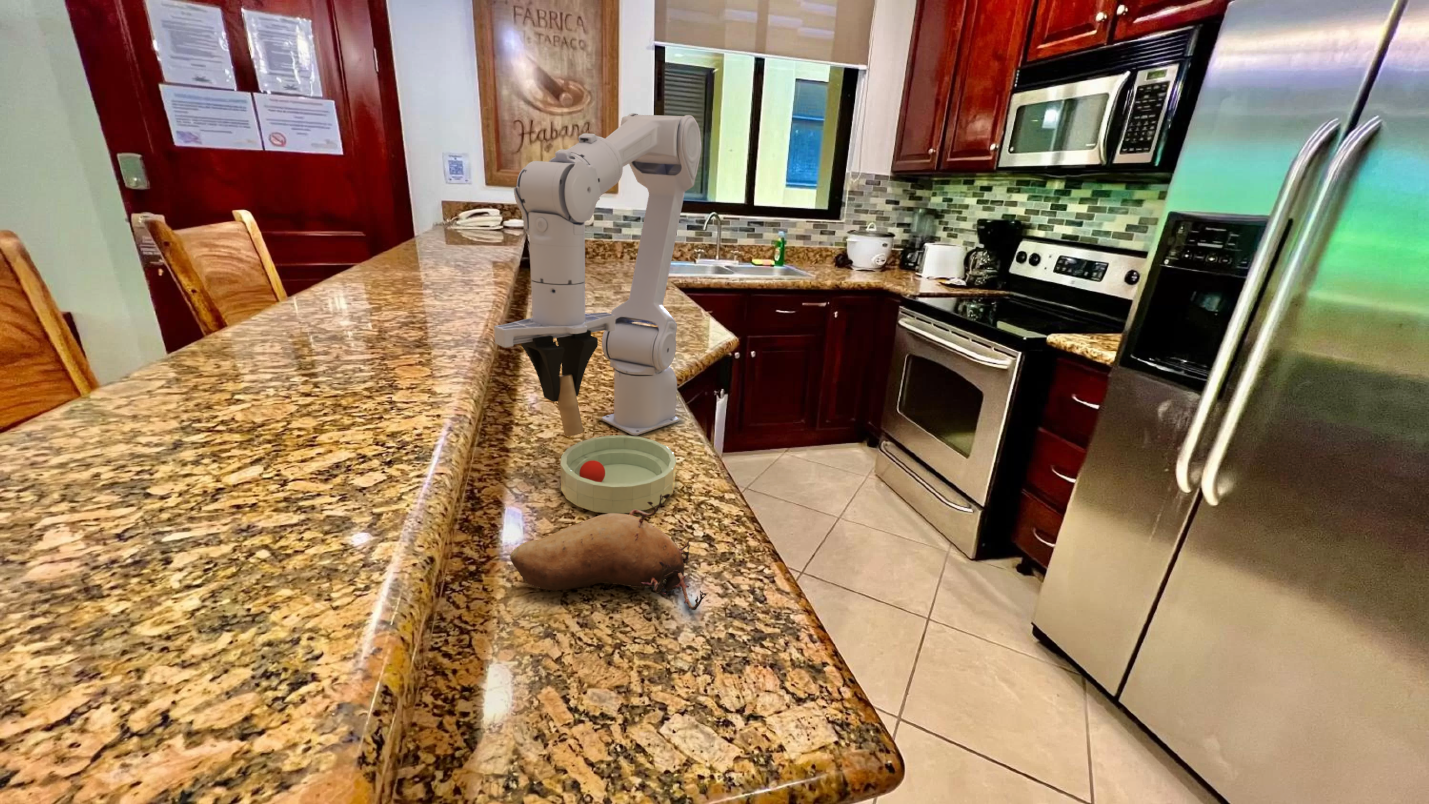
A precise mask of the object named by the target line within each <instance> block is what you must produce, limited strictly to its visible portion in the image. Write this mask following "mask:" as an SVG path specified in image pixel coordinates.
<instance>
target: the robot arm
mask: <svg viewBox="0 0 1429 804" xmlns="http://www.w3.org/2000/svg"><path fill="white" fill-rule="evenodd" d="M577 139H578V142H577V143H575V144H574V145H572V146H570V147H569V148H567V149H563V148H560V149H559V150H557V151H555V153H554V156H553V157H552V158H550V159H549V161H546V160H545V161H542V160H533V161H530V162H528V163H527V164H526V165H525V166H524V167H522V169H521V170H520V171H519V173H518V176H517V180H516V187H513V195H514V199H515V203H516V205H517V207H518V209H519V211H520V213H521V215H522V222H523V223H522V224H523V230H525V234H526V235H528V238H529V239H528V241H529V243H528V244H529V265H530V268H529V269H530V284H531V285H530V286H531V290H530V291H531V310H532V311H531V312H532V316H531V317H528V318H524V319H521V320H517V321H514V322H509V323H503V324H498V325H494V326H493V328H494V329H493V330H494V331H493V332H494V344H496V345H498V346H500V347H502V348H504V349H506V348H513V347H514V345H519V344H520V345H521V347H522V349H523V350H524V352H525V353H526V355H527V357H528V358H529V360H530V362H531V364H532V366H533V368H534V370H535V373H536V375H537V378H538V381H539V384H540V387H541V391H542V394H543V398H544V399H546V400H548V401H550V402H552V403H555V402H558V398H559V394H560V376H561V375H567V374H572V377H573V382H574V387H575V392H576V397H579V393H580V389H581V386H582V382H583V378H584V375H585V372H586V370H587V367H588V364H589V363H590V360H591V358H592V356H593V355H594V353H595V351H596V350H597V348H598V346H599V339H598V337H596V336H593V335H592V333H597V332H603V333H602V338H601V349H602V353H603V356H604V357H605V359H606V360H607V361H608V362H609V367H610V368H613V369H614V374H613V375H614V376H613V377H614V379H613V380H614V381H613V384H614V385H613V386H614V387H613V413H611V414H608V415H604V416H601V420H602V421H603V422H605V423H606V424H609V425H611V426H613V427H614V428H616V429H619V430H621V431H623V432H624V433H628V434H629V435H630V436H636V437H637V436H639V435H642V434H645V433H649V432H651V431H654V430H657V429H659V428H663V427H666V426H669V425H672V424H675V423H677V422H679V421H680V418H679V417H677V416H676V414H677V413H676V411H677V394H678V379H677V376H676V373H675V371H674V369H673V368H672V367H671V365H672V364H673V361H674V359H675V356H676V352H677V330H678V323H677V322H676V320H675V318H674V317H673V316H672V314H670V312H669V311H668V310H667V309H666V308H665V307H664V300H665V295H666V290H667V286H668V280H669V276H670V271H671V265H672V259H673V255H674V249H675V244H676V239H677V235H678V228H679V223H680V218H681V212H682V208H683V203H684V198H685V193H686V192H687V191H688V190H690V189H692V188H693V187H694V186H695V182H696V177H697V174H698V169H699V164H700V159H701V155H702V139H701V130H700V125H699V124H698V122H697V120H696V119H695V117H694V116H693V115H691V114H685V115H684V116H683V115H659V114H658V115H657V114H653V115H652V114H639V113H634V112H632V113H629V114H628V115H626V116H623V117H621V120H620V126H618V127H617V128H616V129H615V130H614V131H613V132H611V133H610V134H608V135H607V136H606V137H605V138H604V137H602V136H598V135H596V134H595V133H587V132H586V133H584V132H583V133H581V134H580V135H578V138H577ZM627 165H629V166H630V169H631V171H632V173H633V175H634V177H635V180H636V182H637V183H639V184H640V185H641V186H643V187H645V188H646V189H647V192H648V198H647V203H646V209H645V212H644V218H643V223H642V228H641V234H640V239H639V244H638V250H637V254H636V261H635V265H634V270H633V276H632V281H631V286H630V291H629V296H628V299H627V300H626V301H624V302H622V303H621V304H619V305H617V306H616V307H615V308H613V309H612V310H611V312H610V313H609V312H606V311H604V312H592V313H589V312H588V313H586V228H585V227H586V226H585V225H586V222H587V221H590V220H591V219H592V217H593V216H594V213H595V210H596V206H597V203H598V202H599V201H600V198H601V196H602V195H604V194H605V193H606V192H608V191H609V190H611V189H612V188H613V187H614V186H616V185H617V184H618V183H619V182H620V181H621V178H622V176H623V172H624V171H623V170H624V167H626V166H627ZM639 323H640V324H639ZM645 324H647V325H645ZM652 325H654V326H652ZM554 339H556V341H555V340H554Z"/></svg>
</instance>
